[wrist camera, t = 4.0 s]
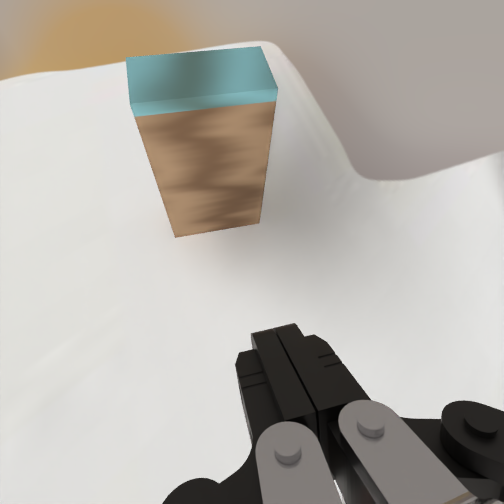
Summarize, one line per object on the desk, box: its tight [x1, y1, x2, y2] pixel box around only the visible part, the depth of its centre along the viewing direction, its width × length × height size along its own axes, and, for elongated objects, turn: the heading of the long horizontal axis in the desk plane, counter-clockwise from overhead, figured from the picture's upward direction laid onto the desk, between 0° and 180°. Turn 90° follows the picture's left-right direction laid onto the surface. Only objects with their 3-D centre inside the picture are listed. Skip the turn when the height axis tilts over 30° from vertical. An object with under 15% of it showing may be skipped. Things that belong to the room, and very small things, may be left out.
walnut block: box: [126, 46, 278, 238], centre depth 24 cm, size 8×4×14 cm, turn 103°
